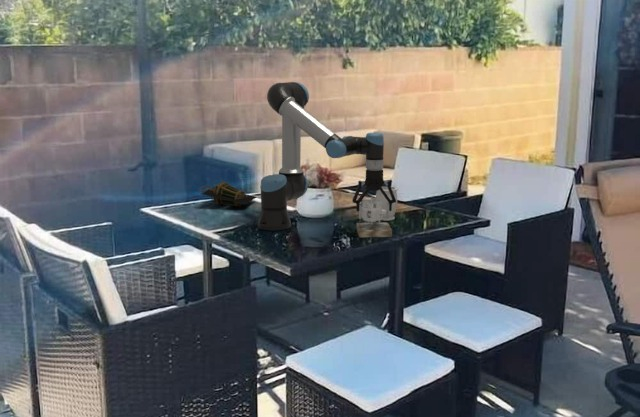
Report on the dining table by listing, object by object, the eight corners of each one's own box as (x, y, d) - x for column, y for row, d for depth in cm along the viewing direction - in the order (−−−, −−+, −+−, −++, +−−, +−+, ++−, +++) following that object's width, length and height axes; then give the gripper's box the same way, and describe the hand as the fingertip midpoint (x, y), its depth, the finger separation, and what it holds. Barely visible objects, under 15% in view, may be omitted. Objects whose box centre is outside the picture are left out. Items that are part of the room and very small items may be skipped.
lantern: (241, 218, 342) (187, 201, 346) (253, 213, 365) (202, 196, 368) (248, 192, 340) (193, 175, 344) (259, 189, 363) (208, 173, 366)
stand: (359, 237, 288) (359, 229, 287) (356, 229, 302) (356, 222, 301) (391, 236, 289) (392, 229, 288) (387, 229, 302) (387, 221, 302)
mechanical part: (390, 221, 297) (391, 195, 294) (380, 227, 286) (380, 200, 284) (367, 219, 302) (367, 193, 299) (356, 224, 292) (356, 198, 289)
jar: (395, 221, 316) (396, 190, 313) (373, 221, 318) (374, 189, 315) (397, 216, 326) (398, 186, 323) (376, 216, 328) (377, 185, 325)
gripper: (347, 170, 285) (347, 220, 290) (403, 170, 286) (402, 219, 291) (346, 168, 292) (346, 216, 297) (400, 167, 293) (399, 216, 298)
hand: (373, 218), depth 294 cm, fingers closed on mechanical part, 11 cm apart
